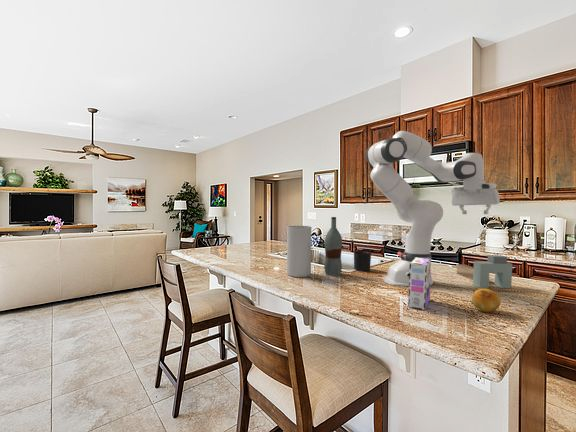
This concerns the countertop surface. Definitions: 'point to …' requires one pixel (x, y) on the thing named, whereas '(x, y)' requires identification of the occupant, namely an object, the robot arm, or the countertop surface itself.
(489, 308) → the fruit
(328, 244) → the bottle
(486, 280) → the grey-green arch block
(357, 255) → the pen holder
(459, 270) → the bar
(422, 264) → the candy box
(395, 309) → the countertop surface
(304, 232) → the cylinder vase
